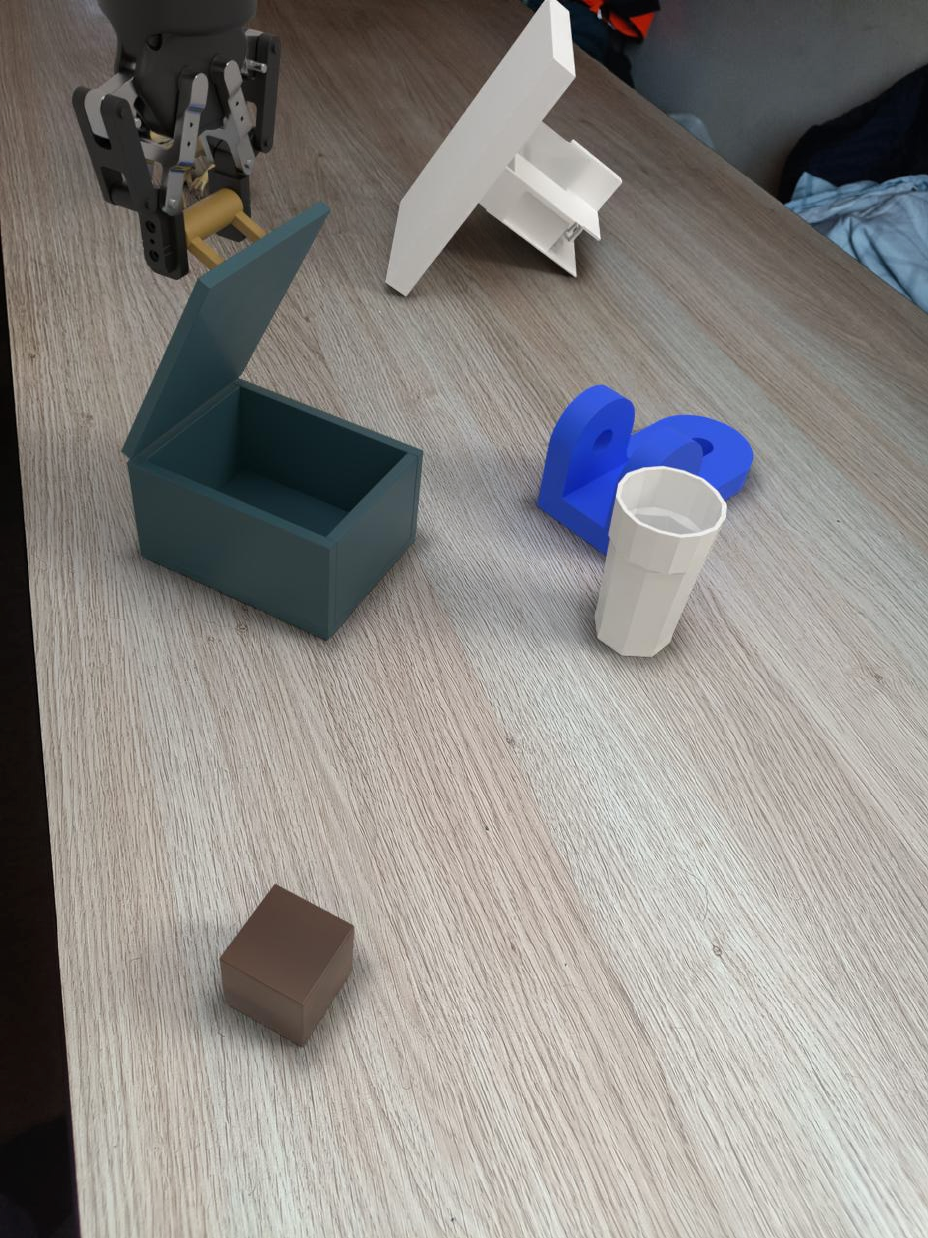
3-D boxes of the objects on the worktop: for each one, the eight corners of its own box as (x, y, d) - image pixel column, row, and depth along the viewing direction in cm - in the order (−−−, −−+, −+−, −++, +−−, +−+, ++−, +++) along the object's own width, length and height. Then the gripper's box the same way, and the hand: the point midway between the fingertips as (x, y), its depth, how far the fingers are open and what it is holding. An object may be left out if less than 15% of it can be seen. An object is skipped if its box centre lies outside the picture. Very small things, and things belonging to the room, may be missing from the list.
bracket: (620, 566, 75) (649, 464, 69) (536, 505, 79) (556, 403, 73) (766, 474, 85) (803, 377, 79) (685, 424, 89) (714, 327, 82)
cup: (598, 583, 74) (632, 454, 66) (690, 614, 73) (736, 486, 65) (570, 645, 69) (603, 514, 62) (668, 679, 68) (714, 550, 60)
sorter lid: (331, 208, 61) (264, 147, 61) (209, 288, 54) (131, 218, 53) (241, 375, 73) (184, 324, 72) (130, 460, 65) (65, 403, 65)
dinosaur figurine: (154, 246, 101) (138, 98, 91) (179, 135, 119) (168, 2, 110) (237, 250, 102) (229, 104, 92) (249, 139, 120) (244, 9, 111)
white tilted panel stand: (405, 177, 114) (548, -25, 100) (523, 264, 121) (673, 86, 107) (385, 282, 98) (553, 57, 84) (523, 376, 104) (700, 183, 90)
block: (303, 1048, 49) (302, 1006, 46) (224, 1003, 50) (218, 958, 47) (352, 970, 52) (355, 925, 49) (276, 929, 53) (274, 882, 50)
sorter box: (415, 540, 75) (424, 450, 70) (327, 641, 67) (329, 549, 62) (242, 467, 79) (237, 376, 73) (140, 555, 71) (126, 461, 66)
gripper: (199, -135, 54) (223, 195, 66) (-13, -92, 45) (60, 284, 57) (324, -107, 52) (326, 228, 64) (130, -56, 43) (174, 327, 55)
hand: (201, 253), depth 60 cm, fingers closed on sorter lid, 5 cm apart
